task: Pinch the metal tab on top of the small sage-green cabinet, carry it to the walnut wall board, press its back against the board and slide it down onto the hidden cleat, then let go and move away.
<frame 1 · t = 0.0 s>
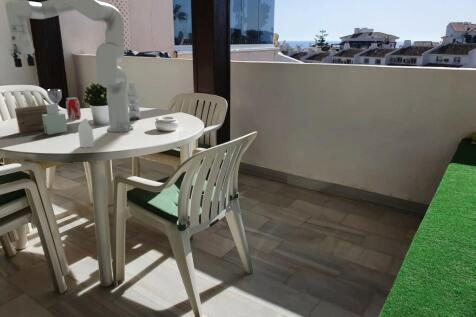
hand: (25, 66, 175), 31 cm above the table, tool pointing down, fingers open, 9 cm apart
soda can: (74, 118, 208), on the table
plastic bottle: (135, 118, 208), on the table
wall board: (37, 129, 181), on the table
white pointed crystal: (87, 146, 153), on the table
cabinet: (56, 132, 176), on the table
wine glass: (57, 114, 221), on the table
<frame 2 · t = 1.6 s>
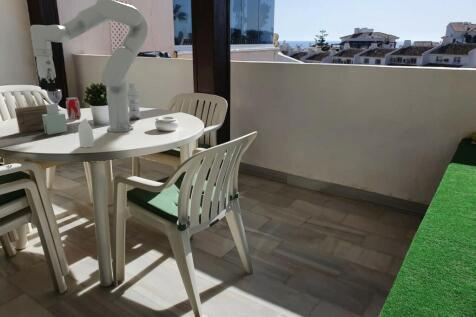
hand: (48, 90, 170), 21 cm above the table, tool pointing down, fingers open, 9 cm apart
nothing on the table moved.
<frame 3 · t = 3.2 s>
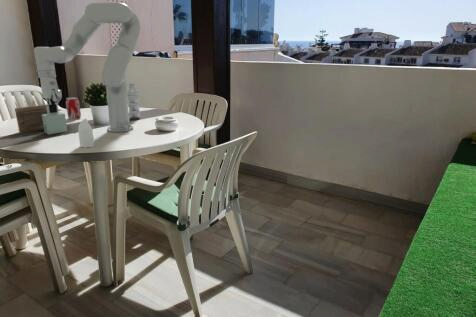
hand: (53, 112, 173), 10 cm above the table, tool pointing down, fingers closed on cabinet
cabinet: (56, 132, 176), on the table, touching gripper
everything else where it was.
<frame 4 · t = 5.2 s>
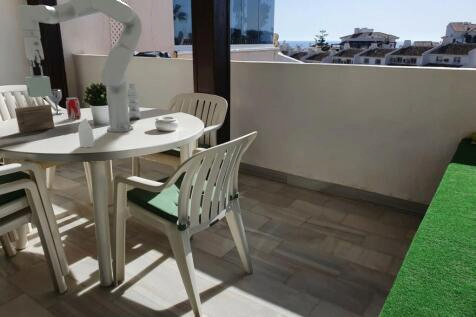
hand: (37, 75, 168), 28 cm above the table, tool pointing down, fingers closed on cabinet
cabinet: (40, 96, 171), point 18 cm above the table, touching gripper
everything else where it was.
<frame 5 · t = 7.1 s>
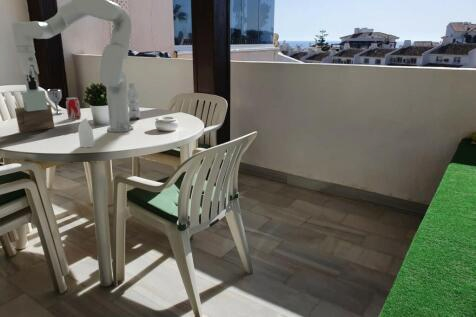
hand: (32, 89, 172), 21 cm above the table, tool pointing down, fingers closed on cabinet
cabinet: (36, 109, 175), point 11 cm above the table, touching gripper
everything else where it was.
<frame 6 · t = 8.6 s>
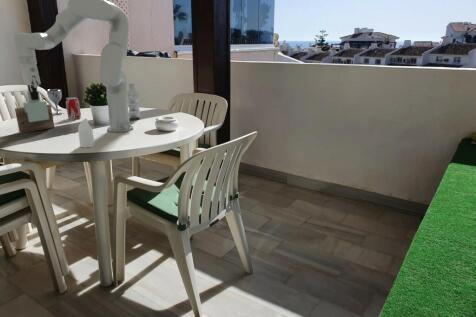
hand: (34, 99, 173), 16 cm above the table, tool pointing down, fingers closed
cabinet: (37, 119, 177), point 6 cm above the table, touching wall board
everything else where it was.
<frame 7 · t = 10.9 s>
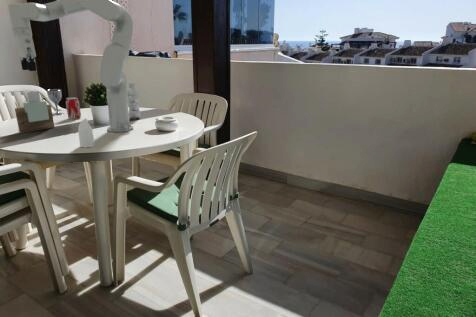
hand: (29, 70, 169), 30 cm above the table, tool pointing down, fingers open, 9 cm apart
nothing on the table moved.
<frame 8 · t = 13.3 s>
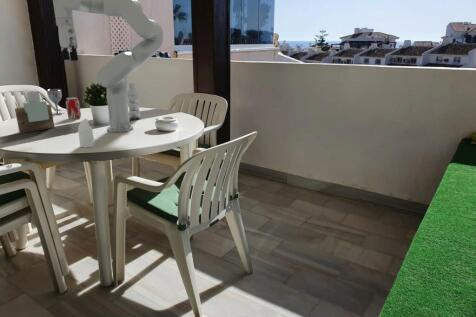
hand: (70, 60, 172), 34 cm above the table, tool pointing down, fingers open, 9 cm apart
nothing on the table moved.
at the end: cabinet 0.1 cm from the target spot on the wall board, point 5.7 cm above the wall board's base; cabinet tilted 0°; the gripper is holding nothing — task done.
